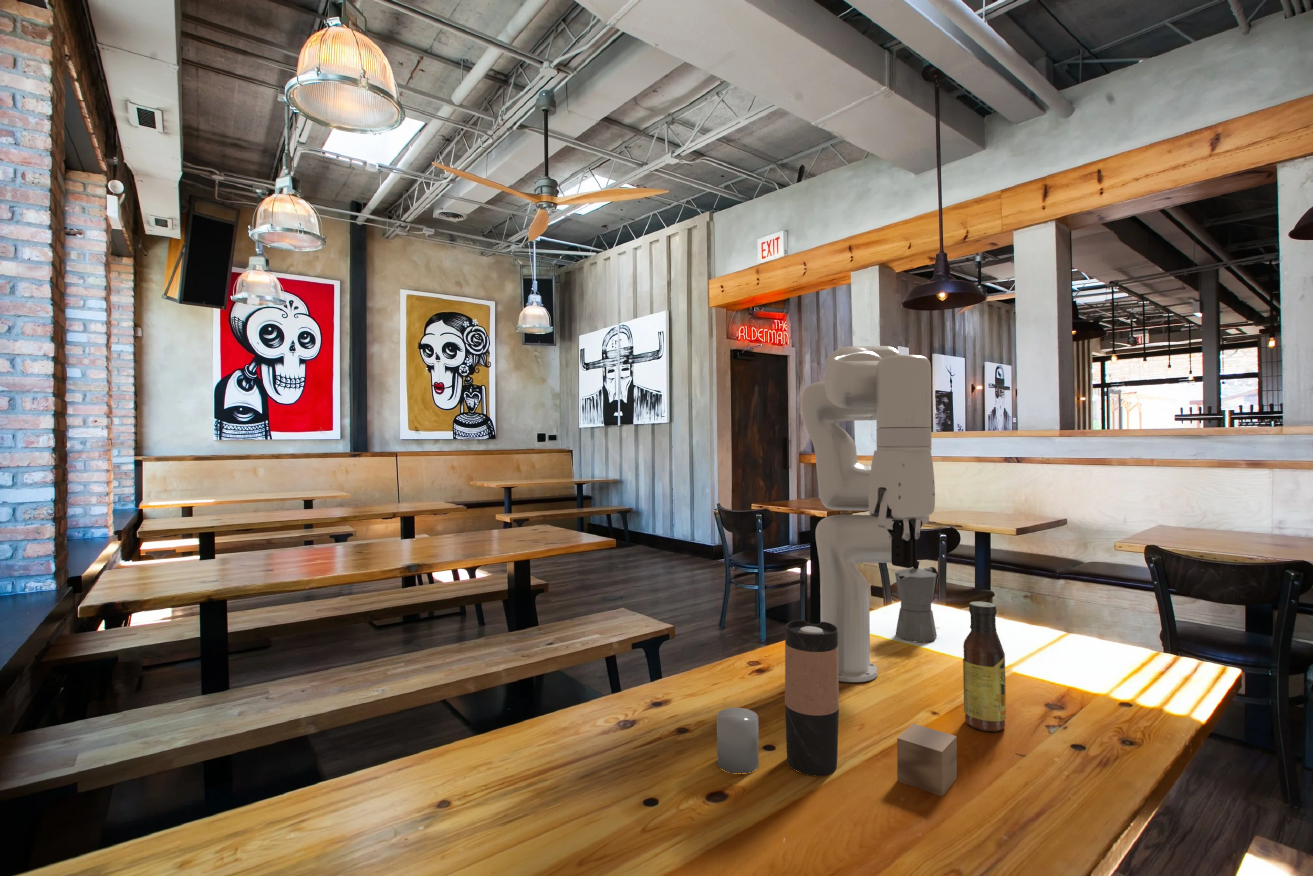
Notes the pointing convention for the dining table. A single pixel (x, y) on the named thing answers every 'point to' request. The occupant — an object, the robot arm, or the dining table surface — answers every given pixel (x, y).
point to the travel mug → (811, 697)
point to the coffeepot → (916, 603)
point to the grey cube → (927, 759)
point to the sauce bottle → (984, 671)
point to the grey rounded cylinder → (737, 740)
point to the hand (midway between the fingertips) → (904, 565)
